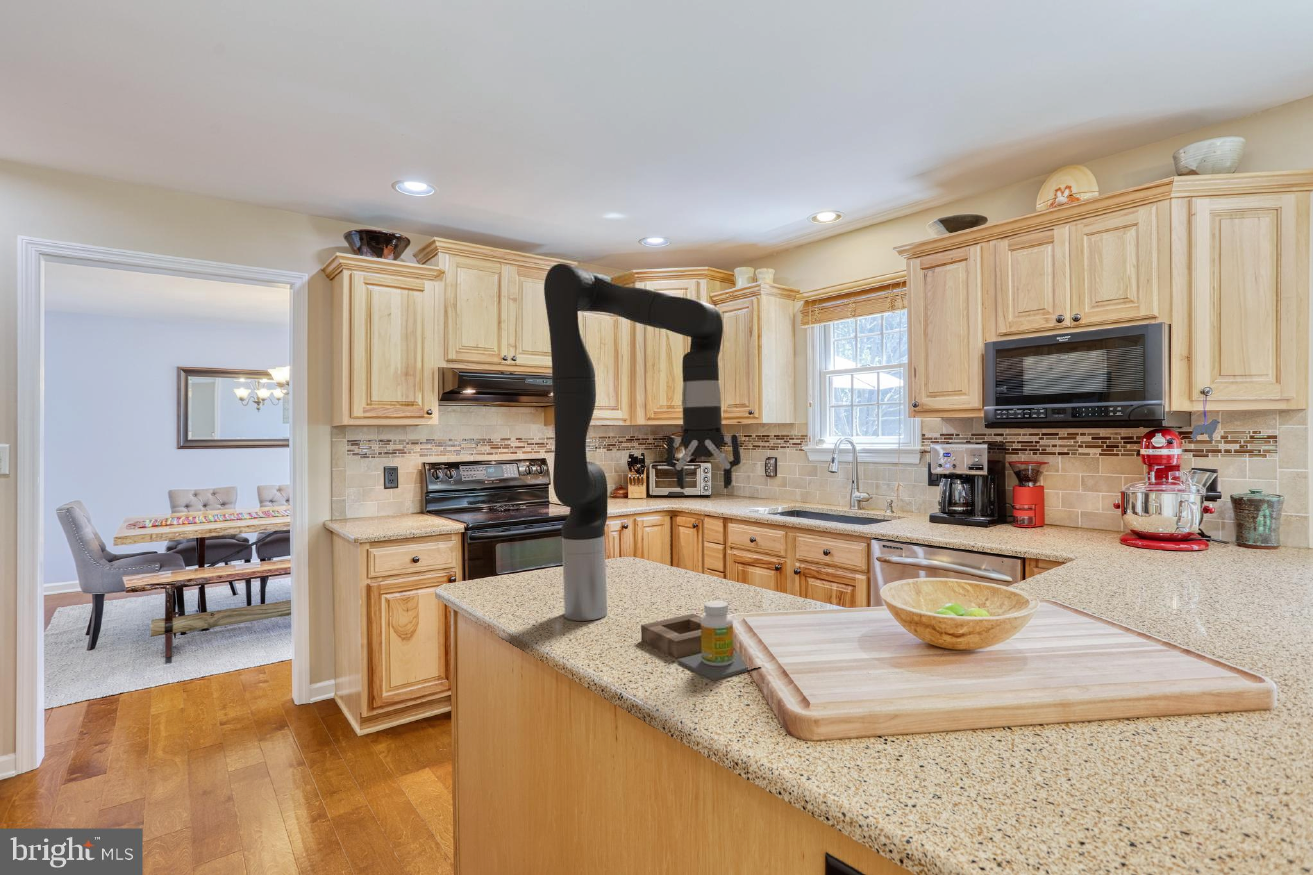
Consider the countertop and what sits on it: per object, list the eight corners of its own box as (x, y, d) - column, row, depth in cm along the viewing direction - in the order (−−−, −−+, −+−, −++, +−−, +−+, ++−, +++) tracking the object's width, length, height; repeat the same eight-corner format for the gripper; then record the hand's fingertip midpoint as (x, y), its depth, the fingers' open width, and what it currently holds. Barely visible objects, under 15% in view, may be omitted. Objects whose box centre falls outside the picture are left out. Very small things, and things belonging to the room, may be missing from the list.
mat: (678, 662, 112) (677, 659, 112) (724, 650, 118) (724, 647, 118) (713, 681, 104) (713, 677, 104) (761, 666, 109) (761, 663, 109)
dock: (641, 640, 125) (640, 624, 125) (693, 628, 131) (692, 613, 131) (676, 658, 115) (675, 641, 115) (730, 644, 121) (730, 628, 121)
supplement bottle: (715, 669, 107) (713, 610, 107) (695, 660, 112) (693, 603, 112) (740, 661, 110) (738, 604, 110) (720, 653, 115) (718, 597, 115)
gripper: (740, 404, 130) (743, 486, 130) (669, 407, 133) (672, 487, 133) (736, 403, 122) (739, 490, 123) (661, 406, 126) (664, 491, 126)
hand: (704, 488), depth 128 cm, fingers open, 8 cm apart
